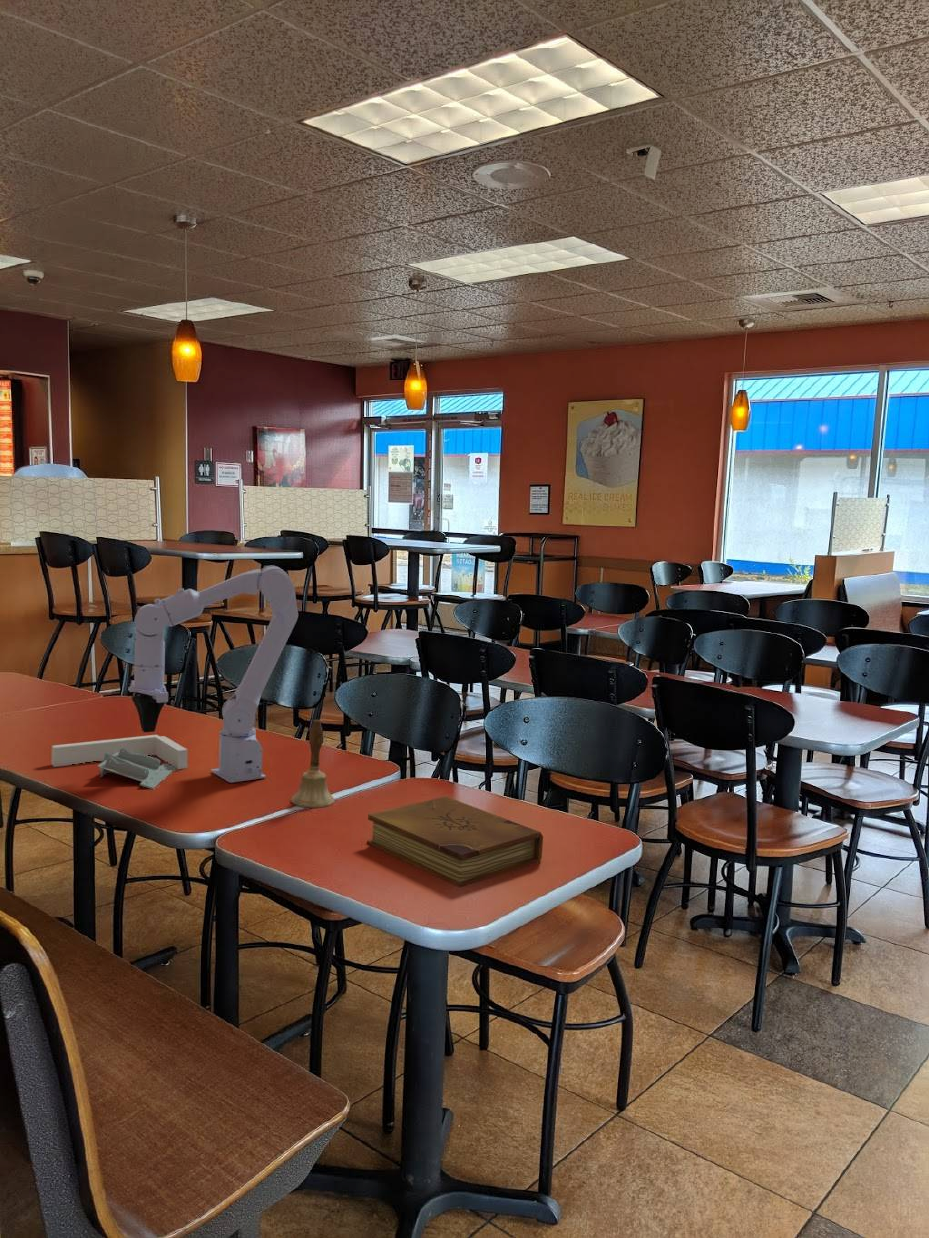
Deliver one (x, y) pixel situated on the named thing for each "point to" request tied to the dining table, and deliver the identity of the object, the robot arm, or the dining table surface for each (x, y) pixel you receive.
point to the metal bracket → (136, 767)
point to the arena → (137, 745)
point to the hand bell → (314, 776)
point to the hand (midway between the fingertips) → (148, 731)
